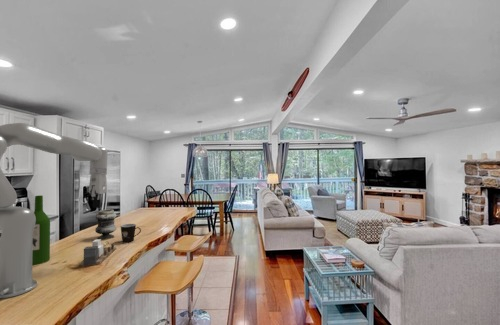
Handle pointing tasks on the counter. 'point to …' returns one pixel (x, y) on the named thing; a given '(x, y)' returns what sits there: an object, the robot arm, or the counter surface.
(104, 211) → the apothecary jar
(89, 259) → the pegged board
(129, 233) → the coffee mug
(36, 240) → the wine bottle
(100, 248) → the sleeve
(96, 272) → the counter surface
